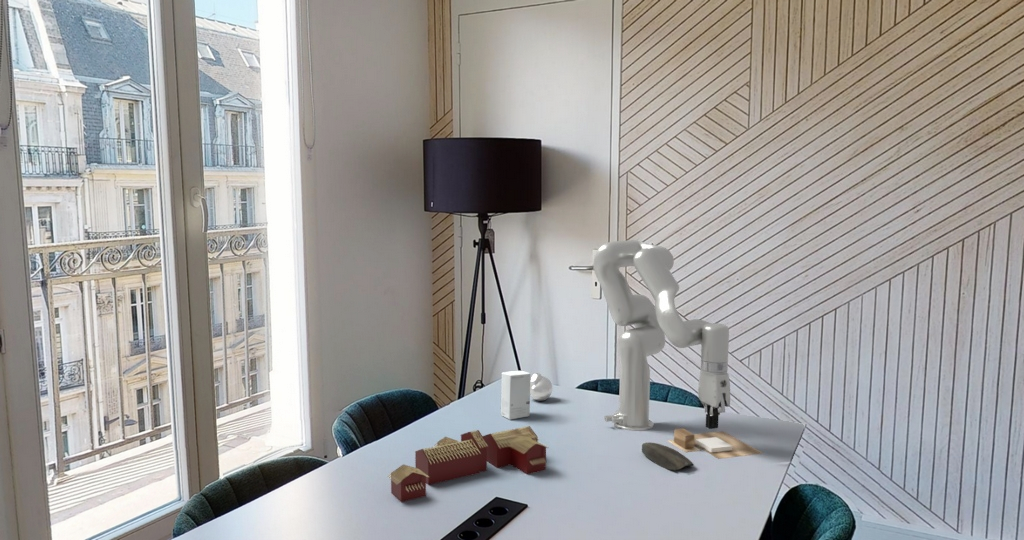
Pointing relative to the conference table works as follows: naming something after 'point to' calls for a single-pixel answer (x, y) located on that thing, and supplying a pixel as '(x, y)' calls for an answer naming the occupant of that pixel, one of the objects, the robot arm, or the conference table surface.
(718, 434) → the cork mat
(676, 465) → the decorative stone
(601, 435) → the conference table surface
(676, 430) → the wooden float
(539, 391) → the ghost figurine
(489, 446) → the toy houses
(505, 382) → the skincare box
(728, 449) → the tile
